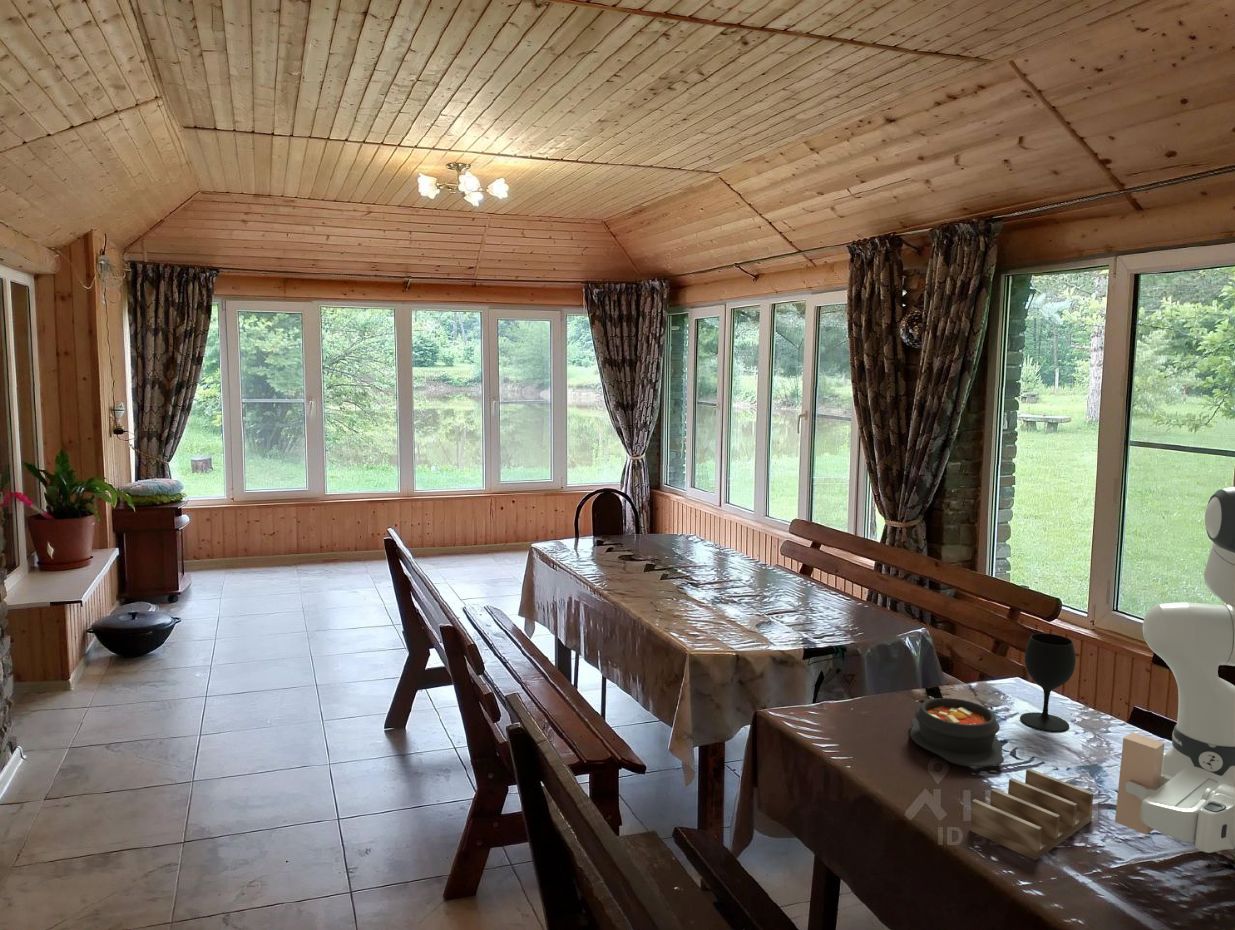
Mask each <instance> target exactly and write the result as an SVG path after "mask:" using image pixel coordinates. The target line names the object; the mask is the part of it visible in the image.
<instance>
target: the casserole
mask: <svg viewBox="0 0 1235 930" xmlns="http://www.w3.org/2000/svg"><path fill="white" fill-rule="evenodd" d="M914 715H915V717H914V718H913V719H911V729H910V731H909V732H910V733H909V734H910V737H911V740H913V741H914V743H916V745H918V746H920V747H922V748H923V749H925V750H926V751H929V752H930V753H933V754H934V755H935V754H936V755H938V756H939V757H941V758H943V759H944V760H945V761H947V762H949V763H952V764H954V765H958V766H963V767H975V768H986V767H995V766H998V765H1001V764H1003V763H1004V761H1005V760H1004V759H1005V758H1004V756H1003V754H1002V753H1003V745H1002V742H1001V741H1000V740H999V739H998V738H997V737H996V734H997V733H998V732H999V731H1000V728H1001V726H1000V724H999V722H998V721H997V719H996V716H995V713H993V711H992V710H991V709H988V708H987V707H986V706H983V705H981V704H978V703H976V702H973V701H968V700H964V699H958V698H952V697H949V698H948V697H937V698H930V699H927V700H925V701H923V702H922V703H921V705H920V707H919V708H918V710H917V711H915V714H914Z"/></svg>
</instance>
